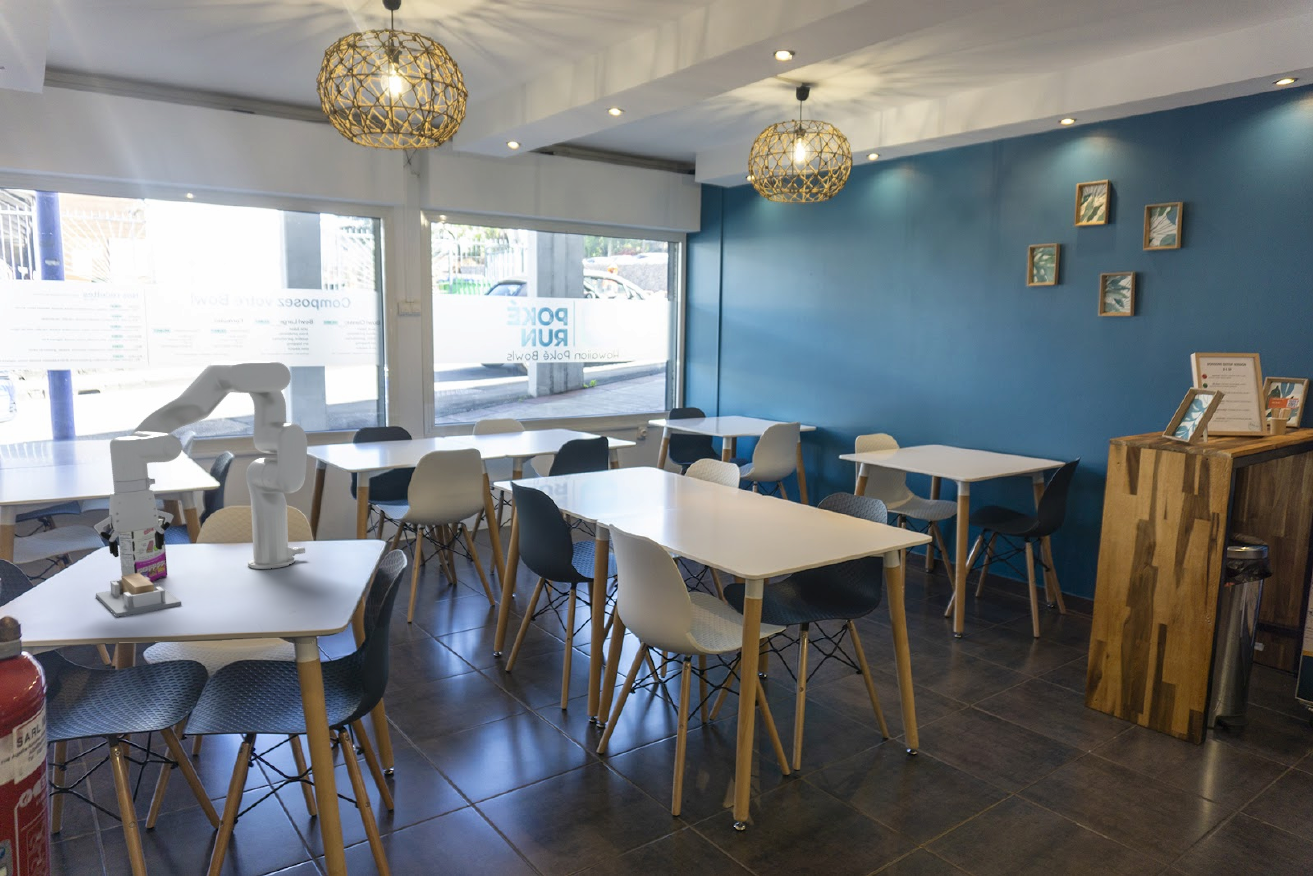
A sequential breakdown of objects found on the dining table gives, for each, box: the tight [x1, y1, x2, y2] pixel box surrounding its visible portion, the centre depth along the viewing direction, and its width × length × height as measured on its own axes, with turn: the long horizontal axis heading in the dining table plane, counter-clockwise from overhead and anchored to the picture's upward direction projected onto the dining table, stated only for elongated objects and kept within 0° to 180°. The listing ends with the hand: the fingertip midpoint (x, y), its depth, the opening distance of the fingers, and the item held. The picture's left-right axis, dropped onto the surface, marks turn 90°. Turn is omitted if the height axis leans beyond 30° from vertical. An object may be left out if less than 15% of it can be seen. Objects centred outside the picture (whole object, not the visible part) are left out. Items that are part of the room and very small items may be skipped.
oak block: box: [120, 573, 154, 595], centre depth 217 cm, size 4×14×4 cm, turn 44°
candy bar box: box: [118, 518, 168, 583], centre depth 234 cm, size 11×5×16 cm, turn 168°
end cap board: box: [95, 576, 182, 618], centre depth 217 cm, size 14×22×4 cm, turn 44°
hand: (137, 552), depth 217 cm, fingers open, 9 cm apart
